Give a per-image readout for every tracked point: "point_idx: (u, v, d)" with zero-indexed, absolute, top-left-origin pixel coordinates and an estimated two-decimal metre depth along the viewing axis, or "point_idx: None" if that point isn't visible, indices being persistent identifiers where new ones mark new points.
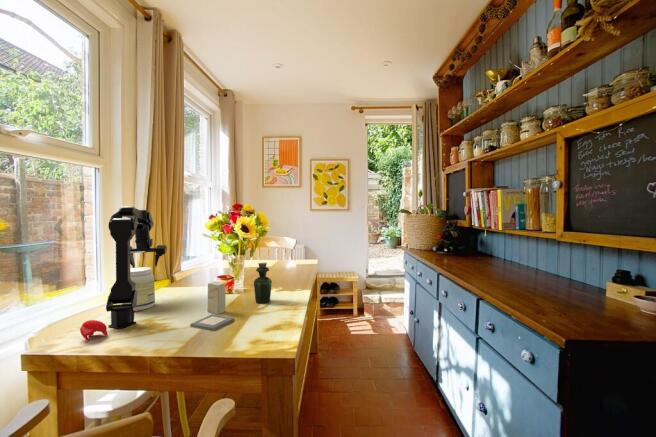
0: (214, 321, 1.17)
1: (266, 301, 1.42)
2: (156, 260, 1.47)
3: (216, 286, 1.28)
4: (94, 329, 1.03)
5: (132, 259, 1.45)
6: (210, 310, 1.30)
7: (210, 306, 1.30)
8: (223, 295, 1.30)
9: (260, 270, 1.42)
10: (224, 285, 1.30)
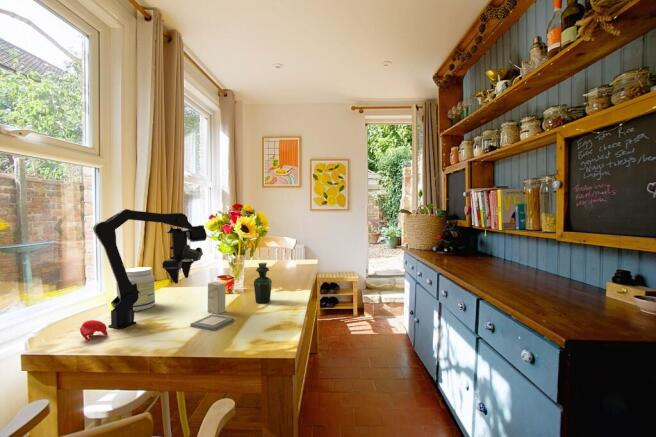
0: (214, 321, 1.17)
1: (266, 301, 1.42)
2: None
3: (216, 286, 1.28)
4: (94, 329, 1.03)
5: (184, 267, 1.34)
6: (210, 310, 1.30)
7: (210, 306, 1.30)
8: (223, 295, 1.30)
9: (260, 270, 1.42)
10: (224, 285, 1.30)
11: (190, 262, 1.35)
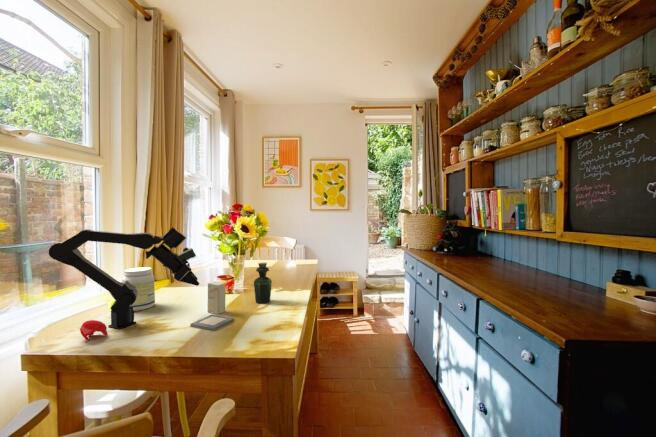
0: (214, 321, 1.17)
1: (266, 301, 1.42)
2: None
3: (216, 286, 1.28)
4: (94, 329, 1.03)
5: None
6: (210, 310, 1.30)
7: (210, 306, 1.30)
8: (223, 295, 1.30)
9: (260, 270, 1.42)
10: (224, 285, 1.30)
11: None
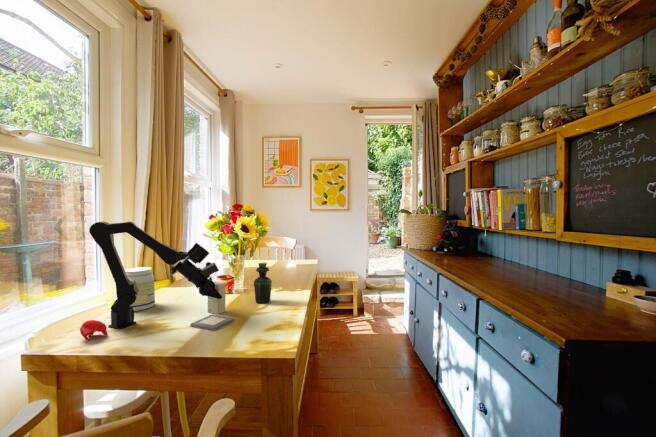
0: (214, 321, 1.17)
1: (266, 301, 1.42)
2: None
3: (216, 286, 1.28)
4: (94, 329, 1.03)
5: None
6: (210, 310, 1.30)
7: (210, 306, 1.30)
8: (223, 295, 1.30)
9: (260, 270, 1.42)
10: (224, 285, 1.30)
11: None
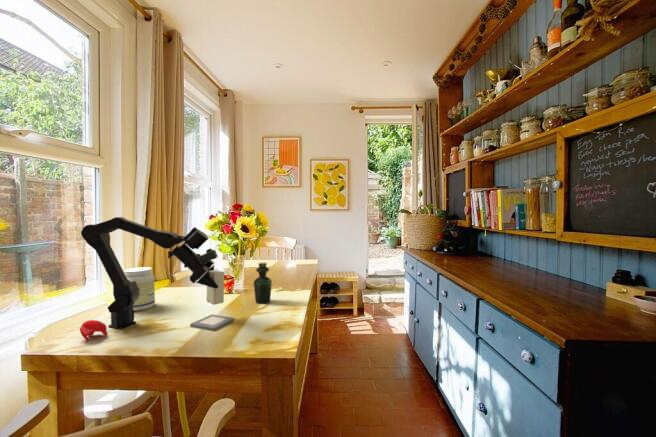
0: (214, 321, 1.17)
1: (266, 301, 1.42)
2: None
3: (213, 274, 1.19)
4: (94, 329, 1.03)
5: None
6: (208, 300, 1.21)
7: (208, 295, 1.21)
8: (221, 285, 1.21)
9: (260, 270, 1.42)
10: (222, 274, 1.21)
11: (211, 268, 1.26)
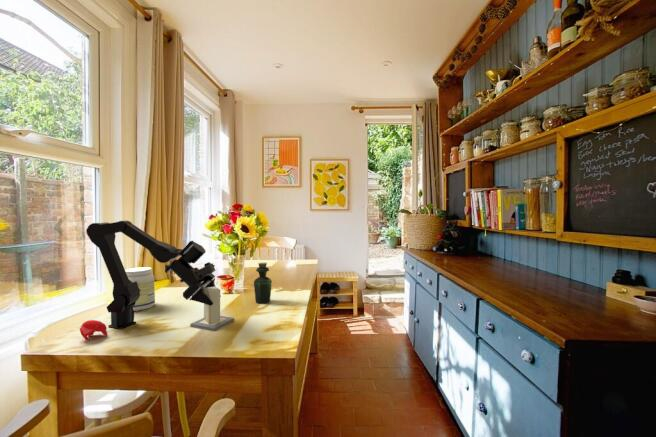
0: None
1: (266, 301, 1.42)
2: None
3: (208, 292, 1.14)
4: (94, 329, 1.03)
5: None
6: (205, 318, 1.17)
7: (205, 313, 1.17)
8: (217, 303, 1.16)
9: (260, 270, 1.42)
10: (218, 292, 1.16)
11: (211, 282, 1.22)
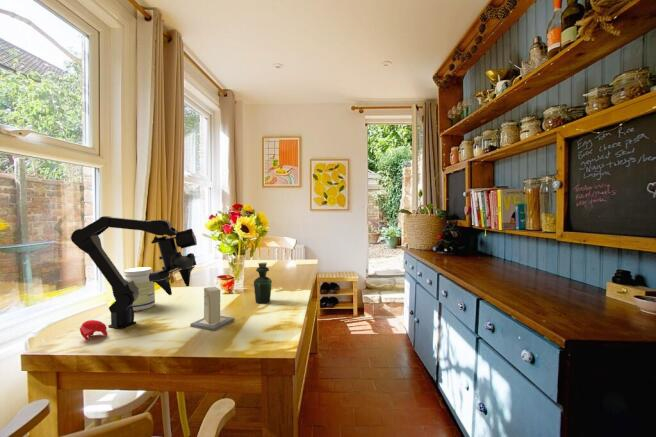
0: None
1: (266, 301, 1.42)
2: None
3: (208, 292, 1.14)
4: (94, 329, 1.03)
5: (184, 275, 1.26)
6: (205, 318, 1.17)
7: (205, 313, 1.17)
8: (217, 303, 1.16)
9: (260, 270, 1.42)
10: (218, 292, 1.16)
11: (188, 269, 1.25)
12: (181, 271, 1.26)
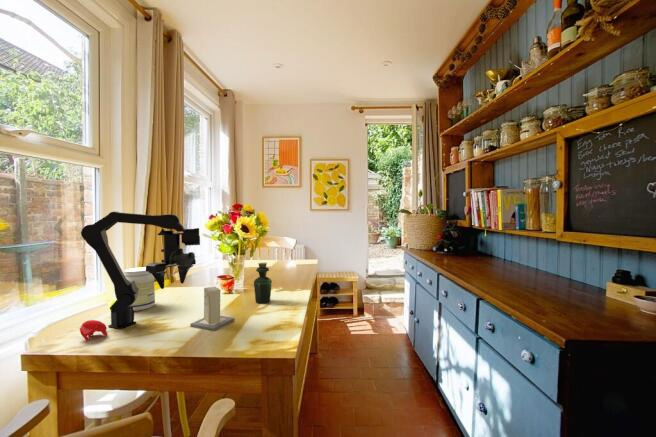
0: None
1: (266, 301, 1.42)
2: None
3: (208, 292, 1.14)
4: (94, 329, 1.03)
5: (181, 272, 1.27)
6: (205, 318, 1.17)
7: (205, 313, 1.17)
8: (217, 303, 1.16)
9: (260, 270, 1.42)
10: (218, 292, 1.16)
11: (186, 267, 1.26)
12: (179, 267, 1.27)
